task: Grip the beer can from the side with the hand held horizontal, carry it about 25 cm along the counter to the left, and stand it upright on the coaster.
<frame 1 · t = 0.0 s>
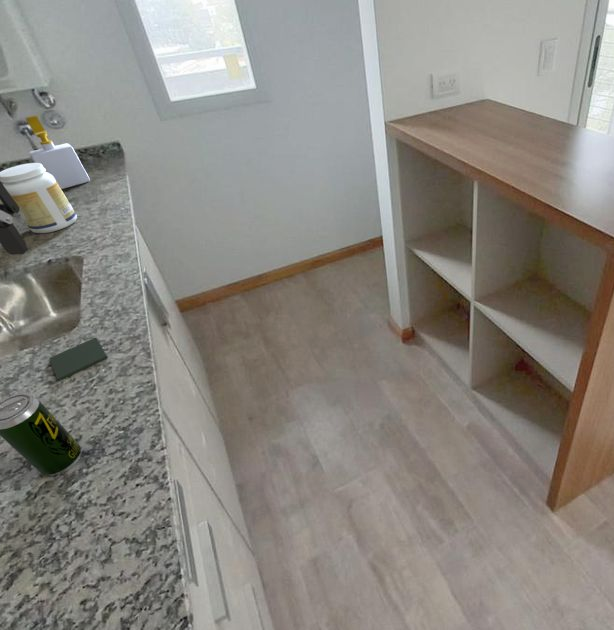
soap bottle: (70, 185, 159), on the countertop
supplement tub: (56, 225, 131), on the countertop
coaster: (79, 358, 82), on the countertop
beer can: (63, 461, 64), on the countertop
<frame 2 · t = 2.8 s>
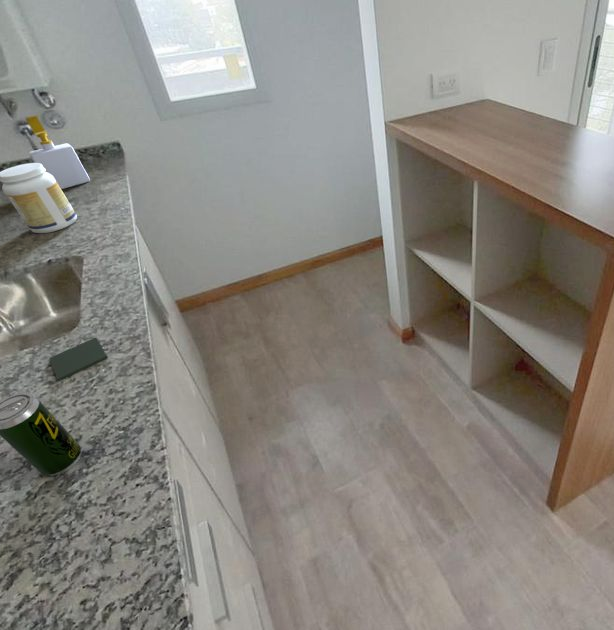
nothing on the countertop moved.
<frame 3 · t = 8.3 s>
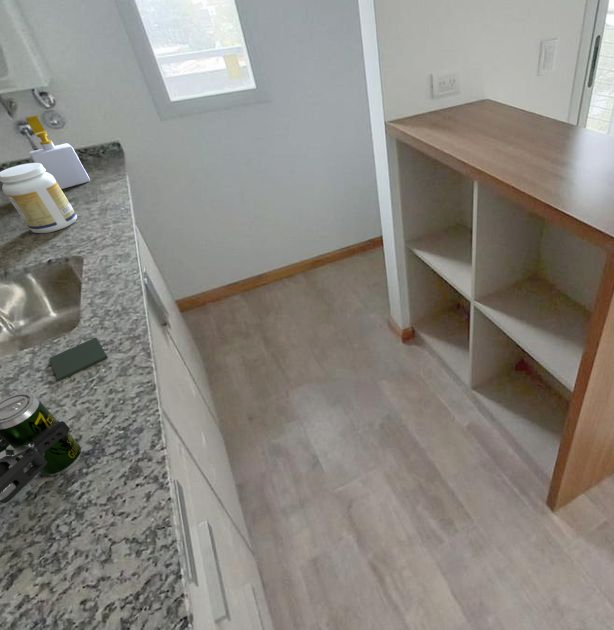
hand: (52, 417, 61), 7 cm above the countertop, tool horizontal, fingers closed on beer can, 5 cm apart
beer can: (63, 461, 64), on the countertop, touching gripper
everything else where it was.
when the fingers open (8 cm above the countertop, at t = 17.3 s): beer can stays where it is, resting on coaster.
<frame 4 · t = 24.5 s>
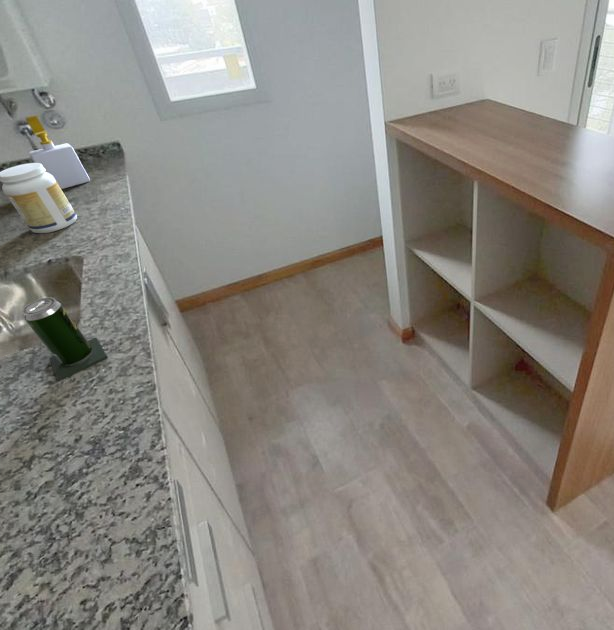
beer can: (78, 358, 82), resting on coaster
everything else where it was.
at the end: beer can inside the target area on the coaster (0.1 cm from its centre), point 0.3 cm above the coaster's base; beer can tilted 0°; the gripper is holding nothing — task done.
